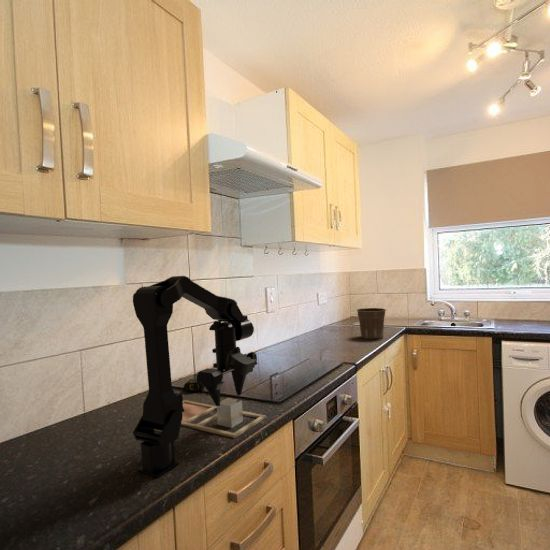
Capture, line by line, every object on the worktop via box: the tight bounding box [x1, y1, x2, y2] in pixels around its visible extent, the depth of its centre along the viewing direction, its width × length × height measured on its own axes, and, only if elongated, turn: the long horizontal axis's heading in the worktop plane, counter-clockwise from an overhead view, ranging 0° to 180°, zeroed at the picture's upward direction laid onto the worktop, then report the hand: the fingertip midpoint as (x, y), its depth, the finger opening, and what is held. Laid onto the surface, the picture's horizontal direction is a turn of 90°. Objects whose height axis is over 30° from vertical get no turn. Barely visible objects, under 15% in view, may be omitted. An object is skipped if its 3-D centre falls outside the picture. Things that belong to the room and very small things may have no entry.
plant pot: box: [356, 307, 387, 340], centre depth 217 cm, size 16×16×16 cm
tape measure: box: [182, 377, 206, 392], centre depth 138 cm, size 7×7×4 cm
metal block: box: [216, 397, 244, 429], centre depth 106 cm, size 5×5×6 cm
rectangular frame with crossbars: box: [181, 399, 267, 439], centre depth 111 cm, size 14×32×1 cm, turn 58°
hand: (228, 400), depth 105 cm, fingers open, 9 cm apart
